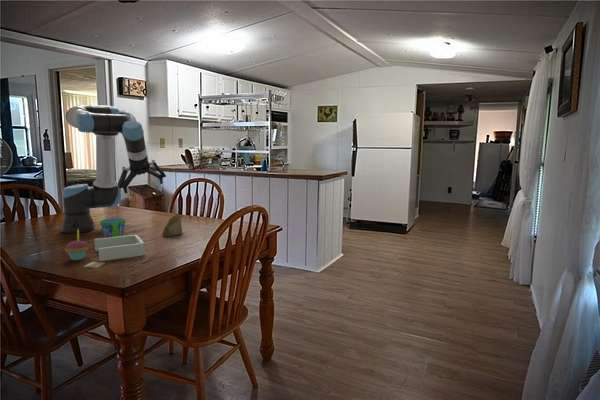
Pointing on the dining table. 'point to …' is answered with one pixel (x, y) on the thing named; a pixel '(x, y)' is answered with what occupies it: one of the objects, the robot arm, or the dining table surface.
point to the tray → (119, 247)
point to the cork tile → (94, 265)
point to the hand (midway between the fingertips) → (144, 193)
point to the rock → (173, 226)
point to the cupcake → (77, 248)
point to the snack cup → (113, 227)
